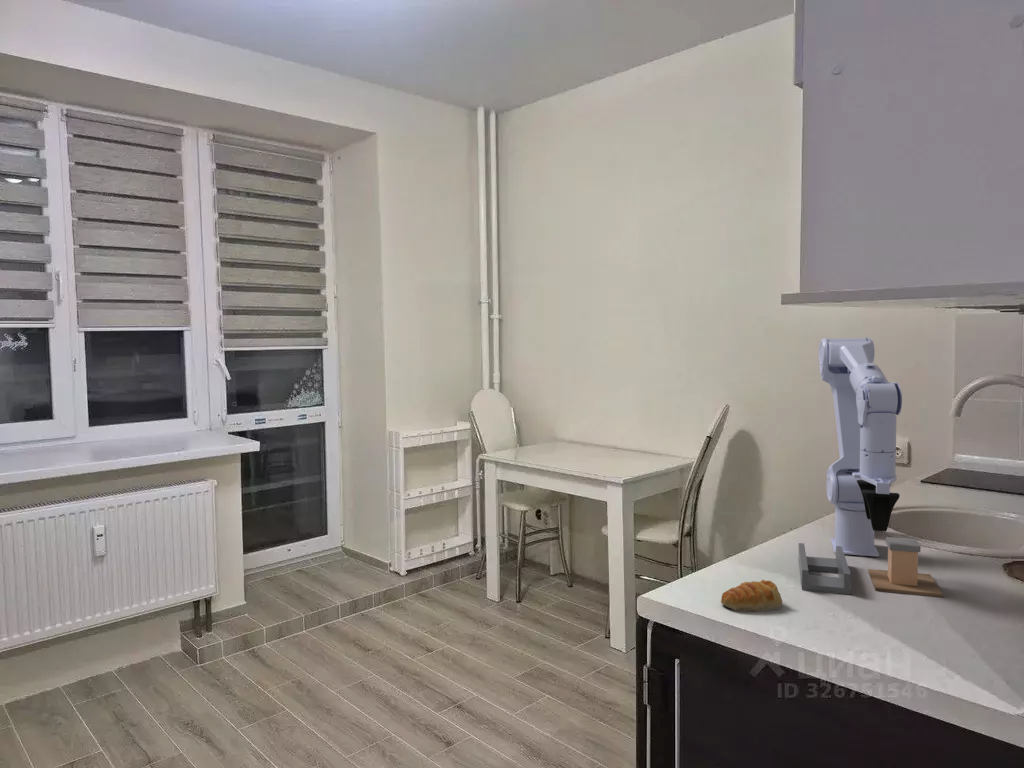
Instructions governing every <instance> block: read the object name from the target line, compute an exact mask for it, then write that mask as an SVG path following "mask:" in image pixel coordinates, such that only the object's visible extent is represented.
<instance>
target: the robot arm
mask: <svg viewBox="0 0 1024 768" xmlns="http://www.w3.org/2000/svg"><path fill="white" fill-rule="evenodd" d="M875 352H876V351H875V344H874V341H873V339H871V337H856V338H855V337H854V338H853V337H852V338H851V337H850V338H847V337H845V338H828V337H823V338H822V339H821V340H820V343H819V346H818V363H819V372H820V376H821V380H822V381H823V382H825V383H827V384H828V385H829V386H830V390H831V392H832V393H831V394H832V399H833V408H834V409H833V410H834V417H835V427H836V436H837V443H838V454H839V458H838V459H837V460H835V461H834V462H833V463H831V464H830V465H829V466H828V469H827V471H826V495H827V496H826V497H827V500H828V501H829V502H830V504H832V505H834V507H835V508H834V521H835V522H834V538H833V537H831V538H830V543H831V547H832V550H833V553H834V554H836V546H842V549H843V552H844V555H849V556H850V555H852V556H862V557H863V556H864V557H875V558H877V557H879V556H880V554H879V551H878V549H877V548H876V545H875V532H887V530H888V527H889V523H890V520H891V516H892V512H893V509H894V507H895V505H896V503H898V501H899V499H900V493H898V492H891V490H890V489H891V487H892V484H894V483H895V482H897V479H898V477H897V475H896V466H897V465H896V464H897V463H896V460H897V453H896V452H897V416H899V415H900V414H901V411H902V407H903V393H902V388H901V386H900V384H899V383H898V382H896V381H890V382H889V381H888V379H887V377H886V375H885V374H884V372H883V371H882V369H881V367H879V366H878V365H876V364H875V362H874V361H875Z"/></svg>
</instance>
